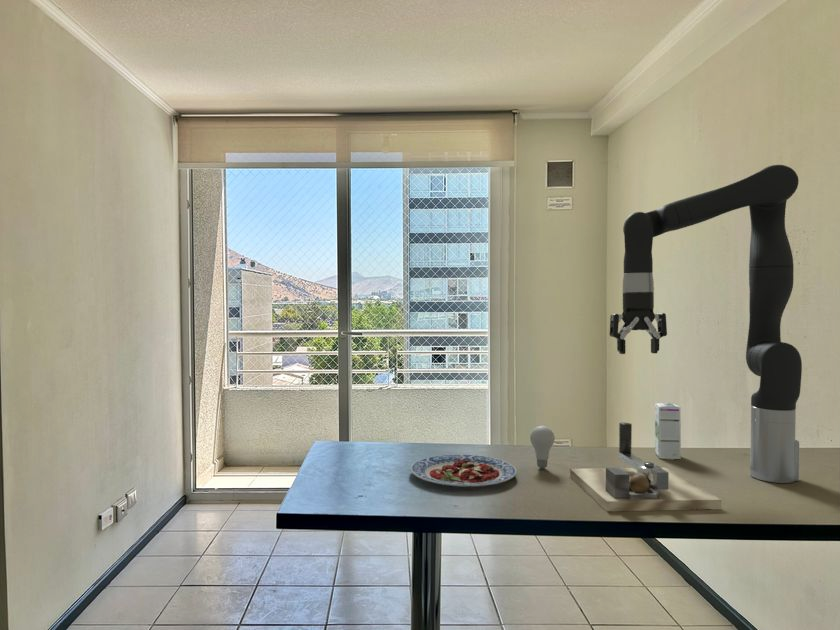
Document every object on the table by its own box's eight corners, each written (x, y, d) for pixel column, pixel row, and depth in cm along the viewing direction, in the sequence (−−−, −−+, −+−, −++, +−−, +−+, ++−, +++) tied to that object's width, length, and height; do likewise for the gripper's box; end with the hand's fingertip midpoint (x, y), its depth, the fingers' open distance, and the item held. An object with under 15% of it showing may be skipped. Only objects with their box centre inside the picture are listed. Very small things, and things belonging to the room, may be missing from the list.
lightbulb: (556, 467, 146) (556, 424, 146) (551, 473, 140) (551, 429, 140) (533, 464, 148) (533, 422, 148) (527, 470, 143) (527, 427, 143)
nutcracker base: (665, 475, 139) (666, 447, 139) (721, 509, 116) (721, 475, 116) (570, 476, 138) (570, 448, 137) (606, 511, 115) (607, 477, 114)
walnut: (643, 493, 121) (643, 474, 122) (652, 496, 117) (653, 476, 118) (625, 491, 121) (626, 472, 121) (634, 494, 117) (635, 475, 117)
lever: (632, 461, 139) (633, 422, 139) (674, 489, 118) (674, 443, 118) (612, 461, 139) (613, 422, 138) (650, 489, 118) (651, 443, 117)
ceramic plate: (458, 456, 156) (458, 446, 156) (537, 477, 138) (537, 465, 138) (388, 476, 138) (388, 464, 138) (468, 503, 120) (468, 489, 120)
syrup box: (681, 460, 153) (682, 406, 153) (658, 458, 154) (658, 405, 154) (676, 454, 159) (676, 403, 158) (653, 453, 160) (654, 402, 160)
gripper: (657, 291, 150) (657, 352, 151) (605, 291, 149) (605, 352, 150) (672, 290, 143) (672, 354, 143) (617, 290, 142) (617, 355, 142)
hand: (638, 353), depth 146 cm, fingers open, 8 cm apart
